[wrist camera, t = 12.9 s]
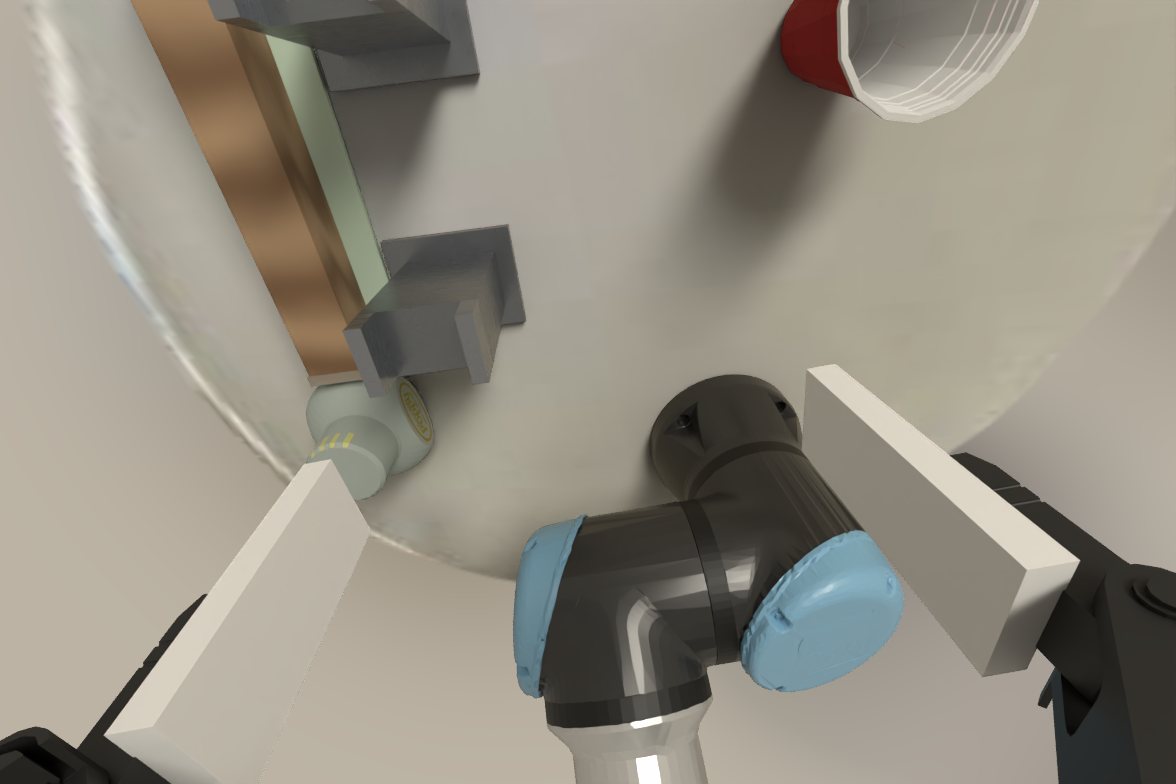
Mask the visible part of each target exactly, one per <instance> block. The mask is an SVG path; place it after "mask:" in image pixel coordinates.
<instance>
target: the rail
mask: <svg viewBox="0 0 1176 784" xmlns="http://www.w3.org/2000/svg"><path fill="white" fill-rule="evenodd" d="M131 2H132V4H133V6H134V8H135V10H136V12H137V14H138V16H139V19H140V21H141V23H142V25H143V27H144V29H145V31H146V33H147V35H148V38H149V40H150V42H151V44H152V46H153V48H154V50H155V52H156V54H157V56H158V59H159V61H160V63H161V65H162V67H163V69H164V71H165V73H166V75H167V77H168V80H169V82H170V84H171V86H172V88H173V90H174V92H175V94H176V96H177V99H178V101H179V103H180V105H181V107H182V109H183V111H184V113H185V115H186V117H187V120H188V122H189V124H190V126H191V128H192V130H193V132H194V134H195V136H196V138H197V141H198V143H199V145H200V147H201V149H202V151H203V153H204V155H205V157H206V160H207V162H208V164H209V166H210V168H211V170H212V172H213V174H214V176H215V178H216V181H217V183H218V185H219V187H220V189H221V191H222V193H223V195H224V197H225V199H226V202H227V204H228V206H229V208H230V210H231V212H232V214H233V216H234V218H235V221H236V223H237V225H238V227H239V229H240V231H241V233H242V235H243V237H244V239H245V242H246V244H247V246H248V248H249V250H250V252H251V254H252V256H253V258H254V260H255V263H256V265H257V267H258V269H259V271H260V273H261V275H262V277H263V279H264V282H265V284H266V286H267V288H268V290H269V292H270V294H271V296H272V298H273V300H274V303H275V305H276V307H277V309H278V311H279V313H280V315H281V317H282V319H283V321H284V324H285V326H286V328H287V330H288V332H289V334H290V336H291V338H292V340H293V343H294V345H295V347H296V349H297V351H298V353H299V355H300V357H301V359H302V361H303V364H304V366H305V368H306V370H307V372H308V374H309V377H308V380H309V382H310V384H311V387H312V386H319V385H326V384H334V383H341V382H349V381H356V380H362V378H361V376H360V373H359V371H358V368H357V366H356V363H355V361H354V358H353V356H352V354H351V351H350V349H349V346H348V344H347V341H346V339H345V336H344V334H343V332H342V330H343V329H344V328H345V327H346V326H347V325H348V324H349V323H350V322H351V321H352V320H353V319H354V318H355V316H356V315H357V314H358V313H359V312H360V311H361V310H362V309H363V308H364V307H365V306H366V304H365V301H364V299H363V296H362V293H361V291H360V288H359V285H358V283H357V280H356V277H355V274H354V272H353V269H352V266H351V264H350V261H349V258H348V256H347V253H346V250H345V248H344V245H343V242H342V239H341V237H340V234H339V231H338V229H337V226H336V223H335V221H334V218H333V215H332V213H331V210H330V207H329V204H328V202H327V199H326V196H325V194H324V191H323V188H322V186H321V183H320V180H319V178H318V175H317V172H316V169H315V167H314V164H313V161H312V159H311V156H310V153H309V151H308V148H307V145H306V143H305V140H304V137H303V134H302V132H301V129H300V126H299V124H298V121H297V118H296V116H295V113H294V110H293V108H292V105H291V102H290V99H289V97H288V94H287V91H286V89H285V86H284V83H283V81H282V78H281V75H280V73H279V70H278V67H277V64H276V62H275V59H274V56H273V54H272V51H271V48H270V46H269V43H268V40H267V37H266V35H265V34H262V33H259V32H255V31H252V30H248V29H245V28H241V27H238V26H234V25H231V24H227V23H224V22H220V21H217V20H215V19H214V16H213V14H212V11H211V9H210V6H209V4H208V2H207V0H131Z"/></svg>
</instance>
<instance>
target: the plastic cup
mask: <svg viewBox="0 0 1176 784" xmlns="http://www.w3.org/2000/svg"><path fill="white" fill-rule="evenodd" d="M1039 1H1040V0H794V2H793V4H792V6H791V7H790V9H789V11H788V13H787V14H786V16H785V20H784V24H783V29H782V33H781V47H782V56H783V58H784V60H785V62H786V64H787V66H788V68H789V70H790V71H791V72H792V73H793V74H795V75H796V76H798V77H799V78H800V79H802V80H803V81H805V82H809V83H812V84H815V85H817V86H818V87H820V88H823V89H826V90H829V91H833V92H836V93H839V94H843V95H846V96H849V97H853V98H855V99H856V100H857V101H860V102H861V103H863V104H864V105H865V106H866V107H868V108H869V109H870V110H871V111H873V112H874V113H875V114H876V115H878V116H879V117H881V118H882V119H884V120H893V121H903V122H913V123H920V122H923V121H925V120H928V119H931V118H933V117H936V116H939V115H941V114H944V113H947V112H950V111H952V110H955V109H957V108H958V107H959V106H960V105H962V104H963V103H964V102H965V101H966V100H968V99H969V98H970V97H971V96H973V95H974V94H975V93H976V92H977V91H979V90H980V89H981V88H982V87H984V86H985V85H986V84H987V83H988V82H990V81H991V80H992V79H993V78H994V77H995V75H996V74H997V72H998V71H999V70H1000V68H1001V67H1002V66H1003V64H1004V63H1005V62H1006V60H1007V59H1008V57H1009V56H1010V55H1011V53H1012V52H1013V51H1014V49H1015V48H1016V47H1017V45H1018V44H1019V42H1020V41H1021V40H1022V38H1023V37H1024V36H1025V34H1026V31H1027V29H1028V27H1029V24H1030V22H1031V20H1032V17H1033V15H1034V13H1035V10H1036V8H1037V6H1038V3H1039Z"/></svg>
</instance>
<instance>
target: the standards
mask: <svg viewBox="0 0 1176 784" xmlns="http://www.w3.org/2000/svg"><path fill="white" fill-rule="evenodd" d="M207 2H208V4H209V6H210V9H211V11H212V14H213V16H214V19H215V20H217V21H220V22H224V23H227V24H231V25H234V26H238V27H241V28H245V29H248V30H252V31H255V32H259V33H262V34H266V35H269V36H273V37H276V38H280V39H283V40H286V41H290V42H293V43H297V44H300V45H304V46H307V47H311V48H314V49H316V50H317V53H318V56H319V59H320V62H321V65H322V68H323V71H324V74H325V77H326V80H327V83H328V86H329V89H330V91H331V92H338V91H346V90H354V89H362V88H370V87H378V86H386V85H394V84H402V83H410V82H418V81H426V80H434V79H442V78H450V77H458V76H466V75H474V74H480V71H479V65H478V60H477V55H476V49H475V44H474V39H473V33H472V28H471V23H470V18H469V12H468V7H467V2H466V0H207ZM380 244H381V247H382V250H383V253H384V256H385V259H386V262H387V265H388V268H389V271H390V274H391V277H392V278H391V279H390V280H389V281H388V282H387V283H386V284H385V285H384V287H383V288H382V289H381V290H380V291H379V292H378V293H377V294H376V295H375V296H374V297H373V298H372V299H371V300H370V302H369V303H368V304H367V305H366V306H365V307H364V308H363V309H362V310H361V311H360V312H359V313H358V314H357V315H356V316H355V318H354V319H353V320H352V321H351V322H350V323H349V324H348V325H347V326H346V327H345V328H344V329H343V330H342V332H343V334H344V336H345V339H346V341H347V344H348V346H349V349H350V351H351V354H352V356H353V358H354V361H355V363H356V366H357V368H358V371H359V373H360V376H361V378H362V380H363V383H364V385H365V388H366V390H367V393H368V395H369V398H375V397H383V396H387V394H388V392H389V391H390V389H391V387H392V385H393V383H394V382H395V380H396V378H397V377H399V376H407V375H415V374H422V373H430V372H437V371H445V370H452V369H460V368H467V367H468V369H469V373H470V376H471V380H472V384H480V383H488V382H489V381H490V376H491V372H492V367H493V362H494V357H495V352H496V347H497V343H498V338H499V333H500V328H501V325H502V324H510V323H518V322H525V321H526V316H525V310H524V305H523V300H522V295H521V289H520V284H519V279H518V273H517V268H516V263H515V257H514V252H513V247H512V241H511V236H510V231H509V225H508V224H507V225H500V226H492V227H484V228H476V229H468V230H461V231H453V232H445V233H437V234H430V235H422V236H414V237H406V238H399V239H391V240H383V241H382V242H381V243H380Z"/></svg>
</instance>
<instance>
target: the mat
mask: <svg viewBox="0 0 1176 784" xmlns="http://www.w3.org/2000/svg"><path fill="white" fill-rule="evenodd" d="M265 35H266V34H265ZM266 37H267V40H268V43H269V46H270V48H271V51H272V54H273V56H274V59H275V62H276V64H277V67H278V70H279V73H280V75H281V78H282V81H283V83H284V86H285V89H286V91H287V94H288V97H289V99H290V102H291V105H292V108H293V110H294V113H295V116H296V118H297V121H298V124H299V126H300V129H301V132H302V134H303V137H304V140H305V143H306V145H307V148H308V151H309V153H310V156H311V159H312V161H313V164H314V167H315V169H316V172H317V175H318V178H319V180H320V183H321V186H322V188H323V191H324V194H325V196H326V199H327V202H328V204H329V207H330V210H331V213H332V215H333V218H334V221H335V223H336V226H337V229H338V231H339V234H340V237H341V239H342V242H343V245H344V248H345V250H346V253H347V256H348V258H349V261H350V264H351V266H352V269H353V272H354V274H355V277H356V280H357V283H358V285H359V288H360V291H361V293H362V296H363V299H364V301H365V304H366V305H367V304H368V303H369V302H370V300H371V299H372V298H373V297H374V296H375V295H376V294H377V293H378V292H379V291H380V290H381V289H382V288H383V287H384V285H385V284H386V283H387V282H388V281H389V280H390V279H389V276H388V273H387V270H386V267H385V264H384V261H383V258H382V255H381V252H380V249H379V246H378V243H377V240H376V237H375V234H374V231H373V228H372V225H371V222H370V219H369V216H368V213H367V210H366V207H365V204H364V201H363V198H362V195H361V192H360V189H359V186H358V183H357V180H356V177H355V174H354V171H353V168H352V165H351V162H350V159H349V156H348V153H347V150H346V147H345V144H344V141H343V138H342V135H341V132H340V129H339V126H338V123H337V120H336V117H335V114H334V111H333V108H332V105H331V102H330V99H329V96H328V93H327V90H326V87H325V84H324V81H323V78H322V75H321V72H320V69H319V66H318V63H317V60H316V57H315V54H314V51H313V48H311V47H307V46H304V45H300V44H297V43H293V42H290V41H286V40H283V39H280V38H276V37H273V36H269V35H266Z"/></svg>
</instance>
